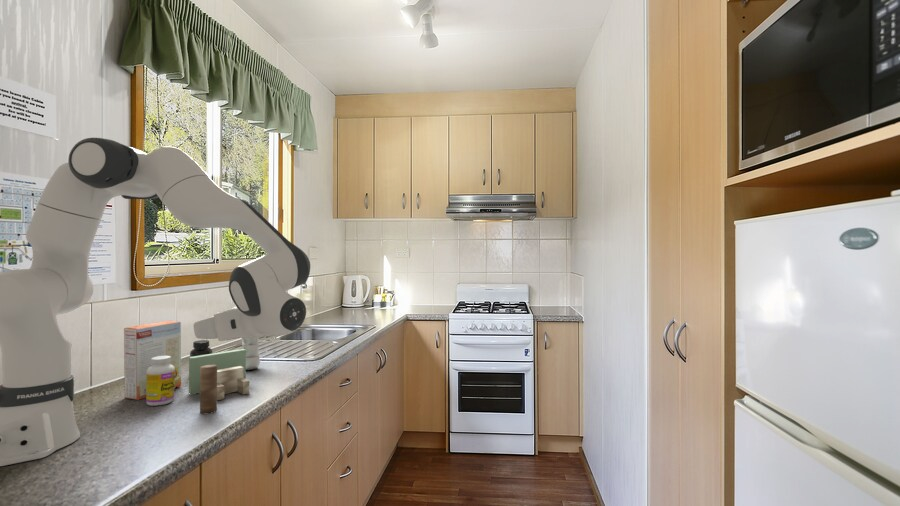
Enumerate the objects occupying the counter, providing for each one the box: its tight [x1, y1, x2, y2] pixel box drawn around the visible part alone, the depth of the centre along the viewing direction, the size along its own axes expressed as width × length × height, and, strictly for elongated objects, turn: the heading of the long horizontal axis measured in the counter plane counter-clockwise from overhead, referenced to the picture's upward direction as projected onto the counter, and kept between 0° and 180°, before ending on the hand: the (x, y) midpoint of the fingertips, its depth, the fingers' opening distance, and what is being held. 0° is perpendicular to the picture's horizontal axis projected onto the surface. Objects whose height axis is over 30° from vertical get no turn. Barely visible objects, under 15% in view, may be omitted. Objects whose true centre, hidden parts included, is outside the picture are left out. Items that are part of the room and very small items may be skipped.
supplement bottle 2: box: [189, 339, 213, 357], centre depth 149 cm, size 7×7×12 cm
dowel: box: [199, 365, 218, 414], centre depth 116 cm, size 4×4×12 cm
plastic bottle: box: [241, 337, 261, 371], centre depth 157 cm, size 6×7×20 cm
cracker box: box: [123, 320, 182, 401], centre depth 131 cm, size 14×6×21 cm, turn 161°
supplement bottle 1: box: [145, 356, 175, 407], centre depth 122 cm, size 7×7×13 cm
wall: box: [188, 348, 247, 395], centre depth 135 cm, size 16×2×11 cm, turn 137°
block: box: [217, 366, 250, 401], centre depth 129 cm, size 9×7×7 cm
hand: (225, 321), depth 110 cm, fingers open, 8 cm apart
